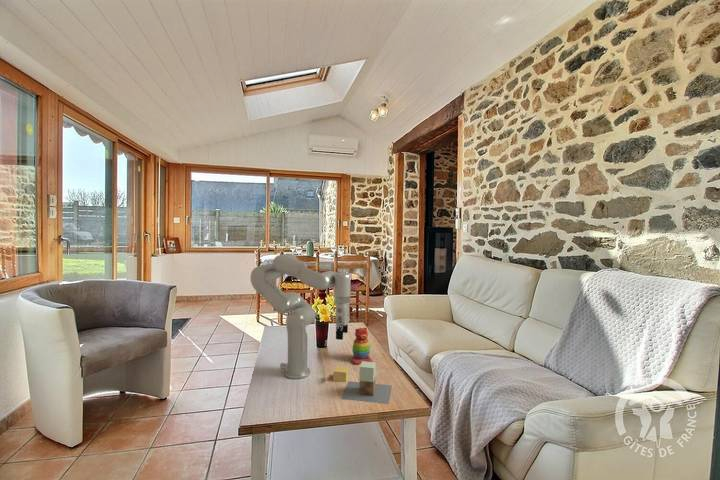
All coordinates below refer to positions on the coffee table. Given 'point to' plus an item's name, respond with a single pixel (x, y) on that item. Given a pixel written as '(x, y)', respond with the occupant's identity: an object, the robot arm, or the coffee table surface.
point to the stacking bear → (361, 347)
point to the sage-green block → (367, 371)
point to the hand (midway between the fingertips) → (341, 335)
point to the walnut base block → (367, 388)
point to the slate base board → (379, 396)
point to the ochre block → (341, 374)
